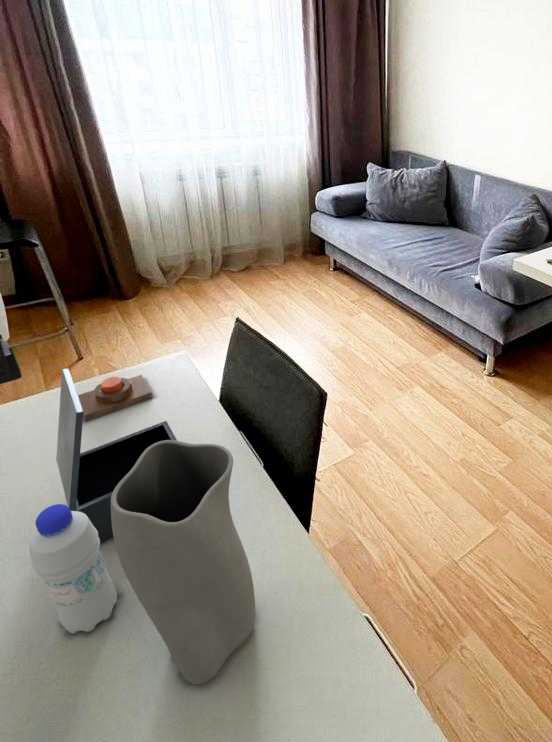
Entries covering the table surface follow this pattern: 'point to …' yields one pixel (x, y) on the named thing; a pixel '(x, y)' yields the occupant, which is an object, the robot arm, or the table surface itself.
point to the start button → (112, 384)
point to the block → (114, 398)
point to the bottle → (72, 567)
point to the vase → (185, 553)
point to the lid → (69, 438)
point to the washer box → (111, 473)
